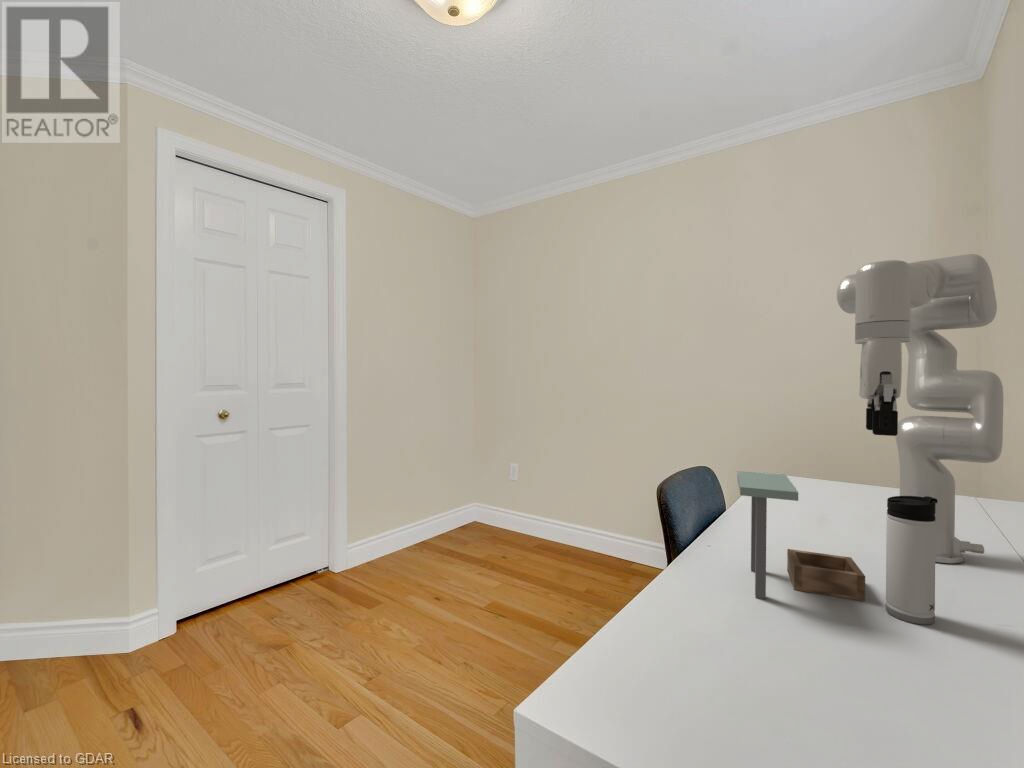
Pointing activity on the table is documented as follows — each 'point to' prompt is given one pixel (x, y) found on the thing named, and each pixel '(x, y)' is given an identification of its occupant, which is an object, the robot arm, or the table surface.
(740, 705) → the table surface
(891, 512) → the travel mug
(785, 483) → the panel
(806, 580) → the brown wooden tray
